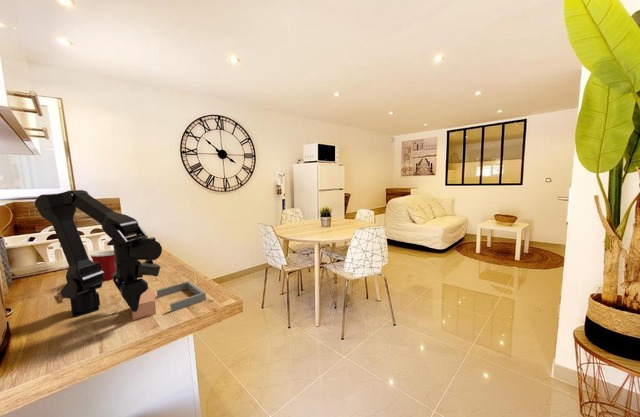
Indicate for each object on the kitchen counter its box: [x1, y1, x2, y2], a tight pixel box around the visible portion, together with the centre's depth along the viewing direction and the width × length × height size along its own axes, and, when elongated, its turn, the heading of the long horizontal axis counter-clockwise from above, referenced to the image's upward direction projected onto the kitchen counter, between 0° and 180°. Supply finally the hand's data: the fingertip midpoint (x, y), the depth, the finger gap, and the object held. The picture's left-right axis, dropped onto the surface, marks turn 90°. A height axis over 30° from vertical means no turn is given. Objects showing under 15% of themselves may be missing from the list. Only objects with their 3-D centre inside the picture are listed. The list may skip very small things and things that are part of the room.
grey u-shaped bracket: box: [156, 280, 207, 313], centre depth 92 cm, size 11×16×2 cm
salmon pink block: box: [131, 289, 157, 321], centre depth 83 cm, size 6×10×4 cm, turn 34°
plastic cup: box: [89, 249, 116, 282], centre depth 111 cm, size 11×11×12 cm
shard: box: [56, 292, 70, 303], centre depth 95 cm, size 11×8×2 cm
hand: (132, 306), depth 81 cm, fingers open, 9 cm apart
